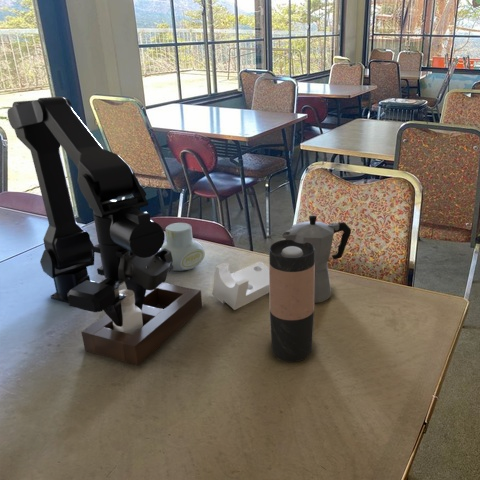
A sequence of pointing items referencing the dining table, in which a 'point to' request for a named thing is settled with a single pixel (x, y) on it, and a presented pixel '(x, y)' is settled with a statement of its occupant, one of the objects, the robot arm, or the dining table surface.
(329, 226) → the coffeepot
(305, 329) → the travel mug
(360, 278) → the dining table surface
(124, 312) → the salt shaker
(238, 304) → the bracket
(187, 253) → the air freshener
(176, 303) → the stand
